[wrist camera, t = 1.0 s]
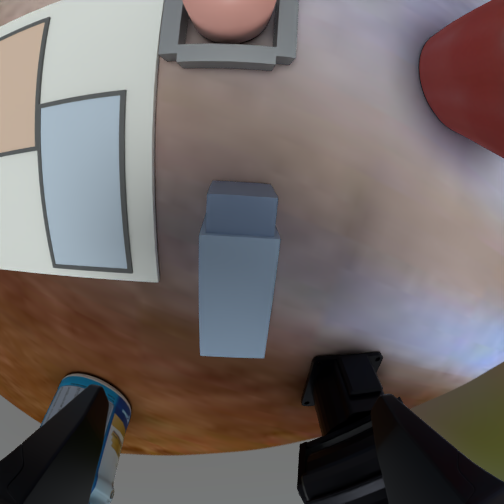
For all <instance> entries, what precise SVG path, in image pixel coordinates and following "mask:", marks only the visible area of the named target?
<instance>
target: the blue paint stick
mask: <svg viewBox="0 0 504 504" xmlns="http://www.w3.org/2000/svg"><path fill="white" fill-rule="evenodd" d="M277 206H278V197H277V195H276V193H275V191H274V189H273V187H272V186H271V184H262V183H248V182H233V181H214V180H213V181H212V183H211V185H210V188H209V190H208V193H207V208H206V215H205V218H204V221H203V224H202V227H201V230H200V233H199V333H200V356H216V357H238V358H264V355H265V349H266V342H267V336H268V329H269V322H270V315H271V308H272V301H273V294H274V286H275V279H276V272H277V264H278V256H279V249H280V241H281V239H280V236H279V233H278V231H277V228H276V225H275V224H276V215H277Z"/></svg>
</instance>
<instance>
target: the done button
mask: <svg viewBox="0 0 504 504" xmlns="http://www.w3.org/2000/svg"><path fill="white" fill-rule="evenodd" d="M182 1H183V4H184V6H185V8H186V10H187V12H188V14H189V17H190V19H191V21H192V23H193V25H194V27H195V28H196V30H197V31H198V32H199V33H200V34H201V35H203V36H204V37H206V38H207V39H210V40H212V41H215V42H219V43H226V44H234V43H240V42H244V41H247V40H250V39H252V38H254V37H256V36H257V35H259V34H260V33H261V32H262V31H263V30H264V29H265V28H266V26H267V25H268V23H269V21H270V18H271V15H272V12H273V9H274V6H275V3H276V1H277V0H182Z"/></svg>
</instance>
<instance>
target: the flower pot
mask: <svg viewBox="0 0 504 504" xmlns="http://www.w3.org/2000/svg"><path fill="white" fill-rule="evenodd" d="M419 72H420V80H421V85H422V88H423V91H424V94H425V97H426V99H427V101H428V103H429V105H430V107H431V108H432V110H433V111H434V113H435V114H436V116H437V117H438V118H439V120H440V121H441V122H442V123H443V124H445V125H446V126H447V127H448V128H450V129H451V130H453V131H455V132H457V133H459V134H461V135H463V136H465V137H466V138H468V139H470V140H472V141H474V142H475V143H477V144H479V145H481V146H483V147H484V148H486V149H488V150H490V151H492V152H493V153H495V154H497V155H499V156H501V157H502V158H504V0H491V1H489V2H488V3H486V4H484V5H482V6H480V7H478V8H476V9H475V10H473V11H471V12H469V13H467V14H466V15H464V16H462V17H460V18H459V19H457V20H455V21H454V22H452V23H450V24H449V25H447V26H446V27H445V28H443V29H442V30H440V31H439V32H438V33H436V34H435V35H434V36H432V37H431V38H430V39H429V40H428V41H427V42H426V44H425V45H424V47H423V49H422V52H421V56H420V63H419Z"/></svg>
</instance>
